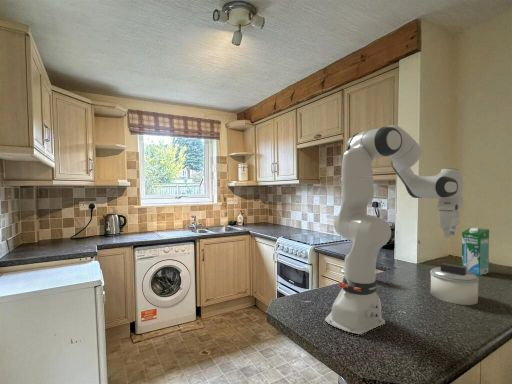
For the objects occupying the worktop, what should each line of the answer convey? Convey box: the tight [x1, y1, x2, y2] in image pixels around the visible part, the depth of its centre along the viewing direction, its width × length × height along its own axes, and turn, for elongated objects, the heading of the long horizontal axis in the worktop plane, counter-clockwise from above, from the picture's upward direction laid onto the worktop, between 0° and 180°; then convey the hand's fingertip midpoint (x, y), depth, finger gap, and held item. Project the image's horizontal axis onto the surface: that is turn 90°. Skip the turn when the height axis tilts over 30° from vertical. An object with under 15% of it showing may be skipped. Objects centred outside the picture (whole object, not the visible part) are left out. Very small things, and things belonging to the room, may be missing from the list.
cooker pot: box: [429, 269, 480, 306], centre depth 122 cm, size 18×18×10 cm
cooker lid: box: [431, 262, 477, 281], centre depth 121 cm, size 16×16×4 cm
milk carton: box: [461, 227, 490, 276], centre depth 155 cm, size 9×9×25 cm
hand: (449, 236), depth 122 cm, fingers open, 8 cm apart
